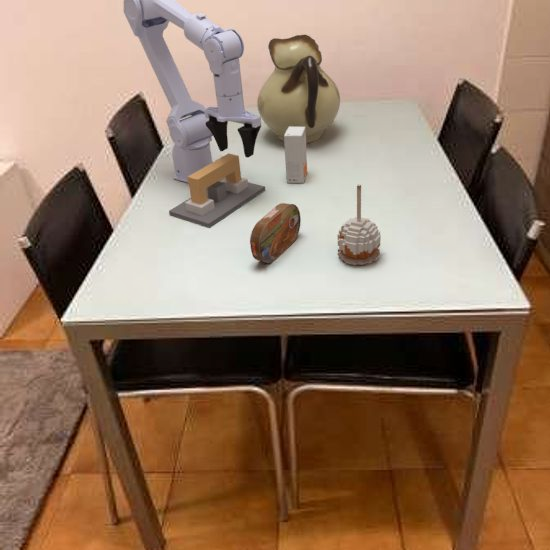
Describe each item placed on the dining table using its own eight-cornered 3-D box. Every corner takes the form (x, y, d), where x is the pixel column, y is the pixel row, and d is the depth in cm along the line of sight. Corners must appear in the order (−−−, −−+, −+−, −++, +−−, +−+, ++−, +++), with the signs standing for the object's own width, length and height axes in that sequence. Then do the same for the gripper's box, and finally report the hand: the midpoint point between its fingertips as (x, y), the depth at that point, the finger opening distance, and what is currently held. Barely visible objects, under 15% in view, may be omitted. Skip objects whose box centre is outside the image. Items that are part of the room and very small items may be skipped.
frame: (191, 201, 132) (187, 176, 129) (231, 177, 141) (228, 153, 138) (201, 204, 130) (197, 179, 127) (241, 179, 139) (238, 155, 136)
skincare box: (304, 183, 142) (301, 135, 135) (286, 183, 143) (283, 135, 136) (308, 172, 147) (305, 126, 140) (290, 172, 148) (287, 126, 141)
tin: (263, 271, 113) (259, 232, 108) (249, 267, 114) (245, 229, 109) (303, 234, 123) (300, 197, 118) (289, 231, 124) (287, 194, 120)
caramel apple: (348, 242, 119) (348, 172, 110) (385, 250, 115) (387, 179, 107) (331, 261, 114) (329, 190, 105) (369, 271, 110) (370, 198, 102)
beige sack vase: (290, 116, 180) (284, 29, 166) (359, 129, 168) (359, 36, 154) (244, 143, 166) (234, 50, 152) (316, 159, 154) (312, 60, 139)
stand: (169, 214, 134) (166, 196, 131) (226, 180, 147) (224, 163, 144) (209, 227, 128) (206, 209, 125) (265, 190, 141) (263, 172, 138)
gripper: (191, 93, 128) (200, 153, 135) (243, 102, 120) (250, 165, 127) (213, 84, 132) (221, 142, 140) (264, 92, 124) (270, 153, 132)
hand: (236, 152), depth 134 cm, fingers open, 7 cm apart
